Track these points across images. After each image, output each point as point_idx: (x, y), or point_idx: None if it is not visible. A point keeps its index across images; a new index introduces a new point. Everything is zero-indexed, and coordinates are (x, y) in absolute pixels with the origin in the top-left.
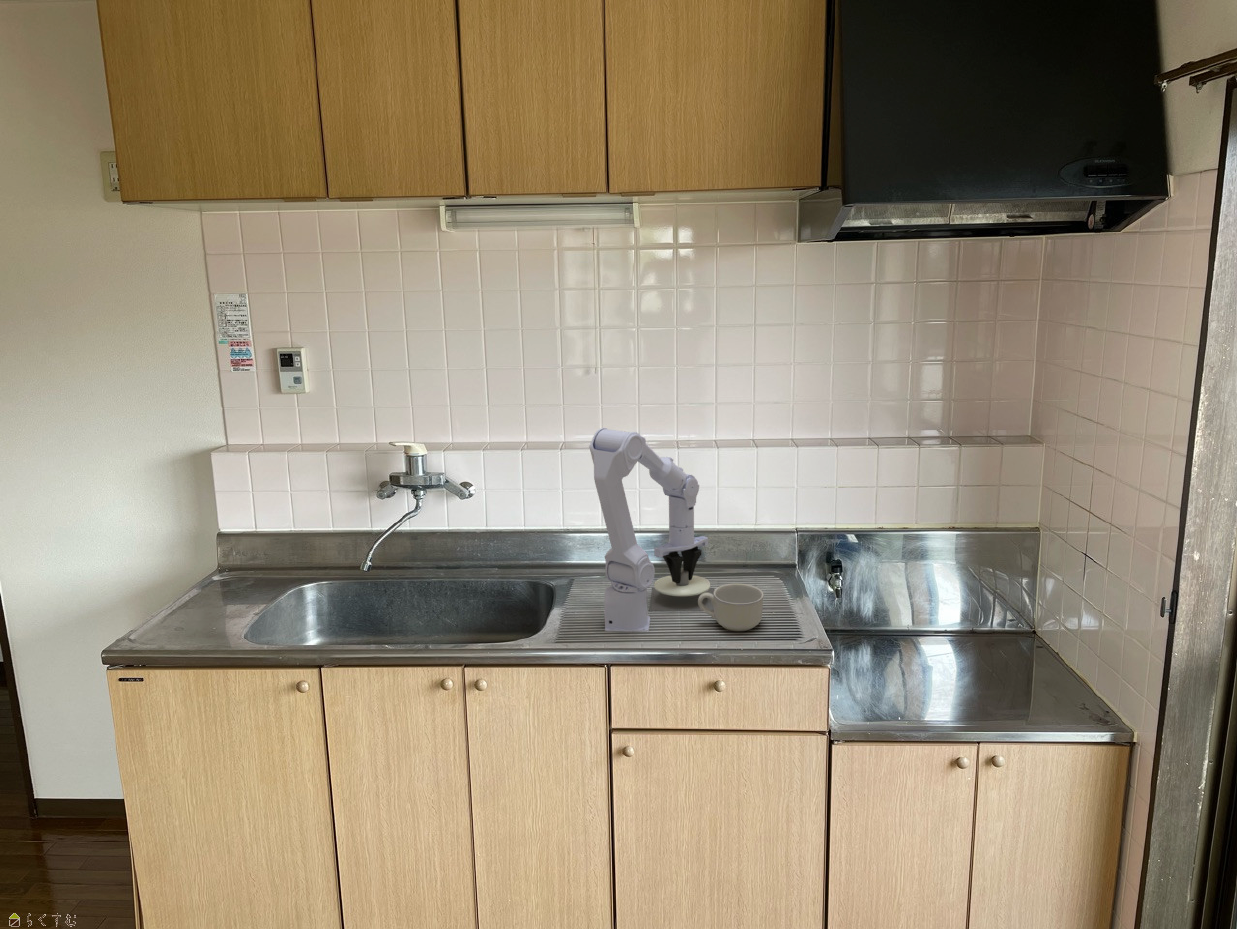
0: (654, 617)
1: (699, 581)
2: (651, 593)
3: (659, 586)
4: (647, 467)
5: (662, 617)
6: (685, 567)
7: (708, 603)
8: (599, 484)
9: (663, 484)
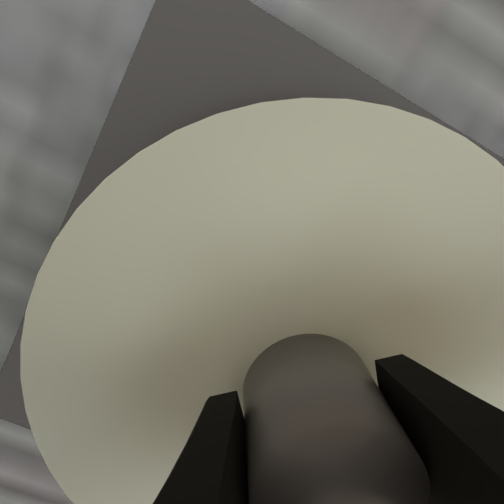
0: (4, 475)
1: (481, 398)
2: (114, 102)
3: (66, 362)
4: None
5: (51, 491)
6: (449, 472)
7: None
8: None
9: None
